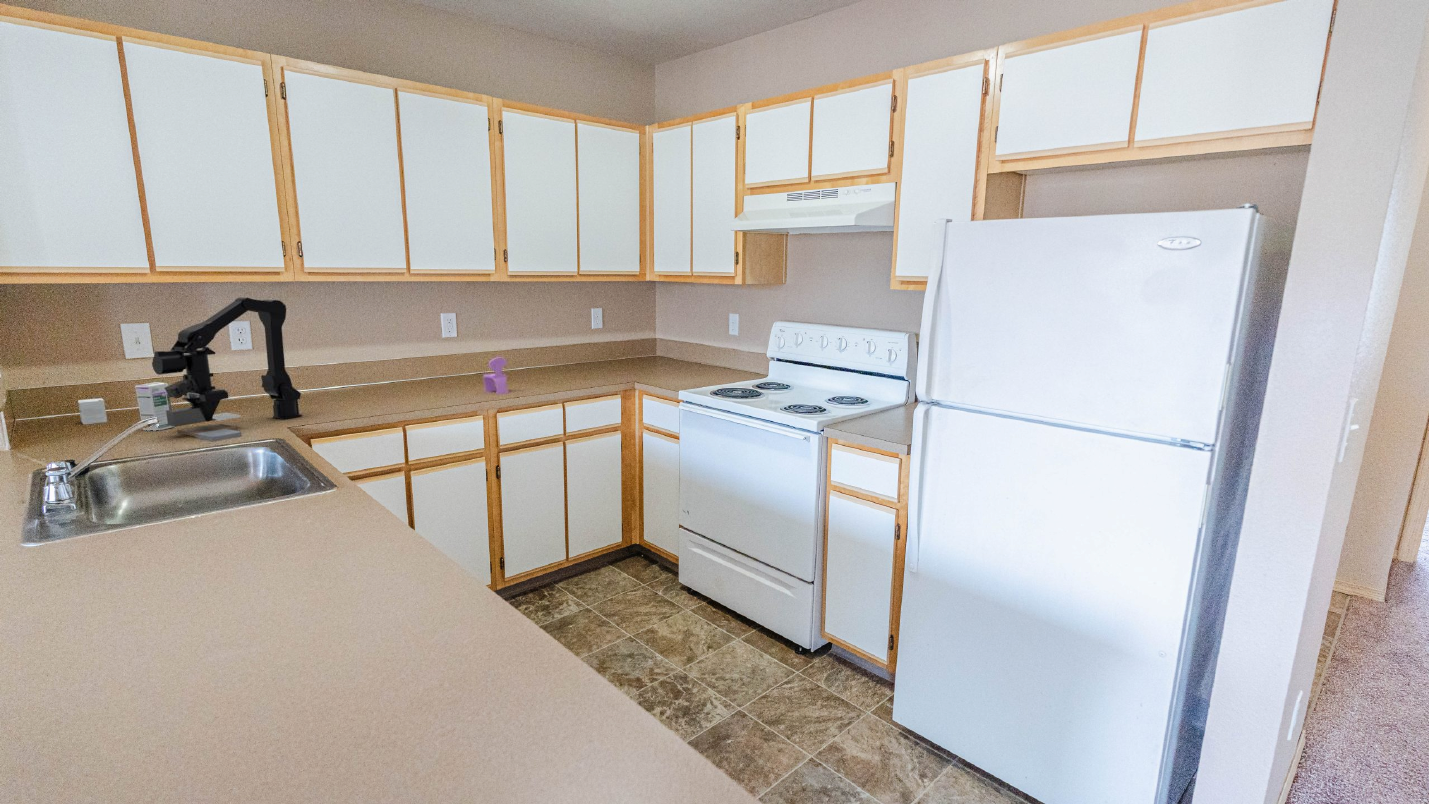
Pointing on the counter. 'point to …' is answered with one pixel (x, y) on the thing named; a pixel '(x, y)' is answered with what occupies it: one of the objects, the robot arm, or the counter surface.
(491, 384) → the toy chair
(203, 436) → the tile
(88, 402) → the skincare box
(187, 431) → the plate
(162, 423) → the syrup box
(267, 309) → the robot arm
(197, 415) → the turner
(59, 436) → the counter surface
